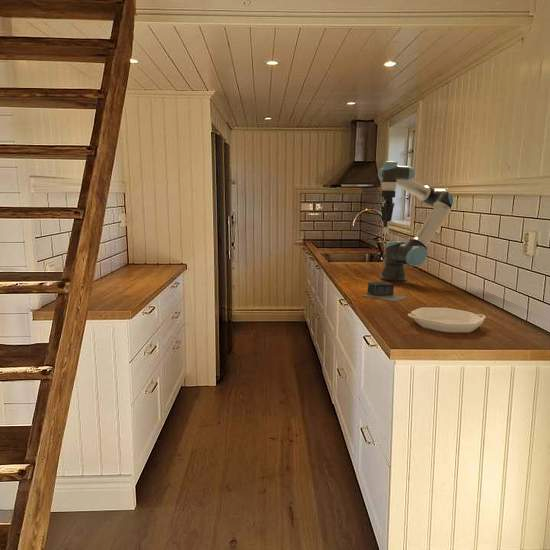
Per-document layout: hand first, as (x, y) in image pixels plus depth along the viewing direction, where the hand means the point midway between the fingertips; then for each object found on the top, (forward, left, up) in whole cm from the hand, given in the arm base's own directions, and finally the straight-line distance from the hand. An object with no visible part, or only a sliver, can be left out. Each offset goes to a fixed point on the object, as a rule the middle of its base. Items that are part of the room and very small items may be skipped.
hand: (385, 233), depth 268 cm
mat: (+31, +16, -29) cm, 45 cm away
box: (+22, +15, -26) cm, 37 cm away
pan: (+63, +57, -30) cm, 90 cm away
